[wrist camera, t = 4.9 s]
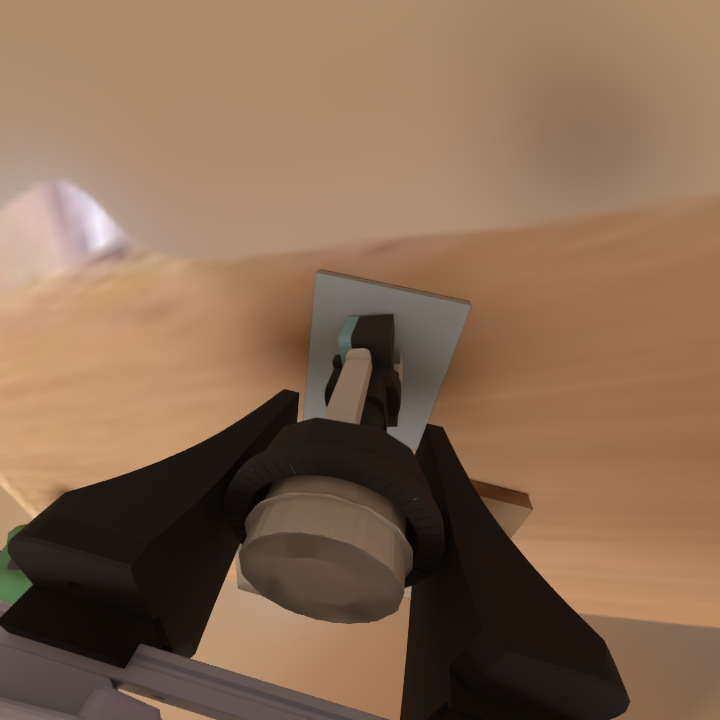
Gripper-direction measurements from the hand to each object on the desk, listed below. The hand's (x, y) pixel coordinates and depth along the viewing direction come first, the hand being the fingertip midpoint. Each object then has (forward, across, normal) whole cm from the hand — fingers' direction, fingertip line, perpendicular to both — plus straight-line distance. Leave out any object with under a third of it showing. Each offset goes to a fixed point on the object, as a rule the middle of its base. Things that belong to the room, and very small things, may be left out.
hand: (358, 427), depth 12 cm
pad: (+5, 0, 0) cm, 5 cm away
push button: (+4, 0, 0) cm, 4 cm away
